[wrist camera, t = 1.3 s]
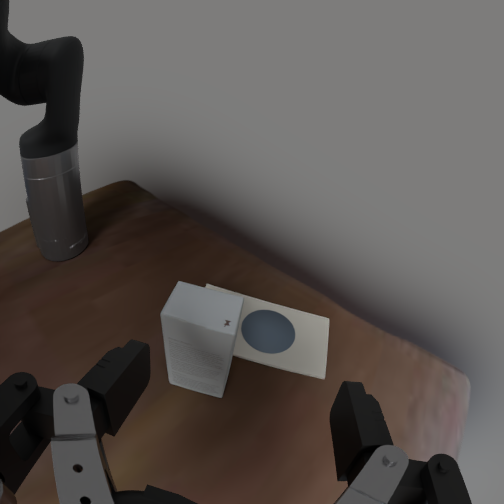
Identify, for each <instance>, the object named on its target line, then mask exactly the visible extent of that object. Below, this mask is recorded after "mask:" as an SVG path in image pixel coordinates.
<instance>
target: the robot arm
mask: <svg viewBox="0 0 504 504" xmlns="http://www.w3.org/2000/svg"><path fill="white" fill-rule="evenodd" d="M8 14H9V0H0V95H2V96H3V97H5V98H6V99H8V100H9V101H11V102H13V103H15V104H18V105H24V106H26V105H34V104H41V103H46V113H45V117H44V119H43V120H42V121H41V122H40V123H39V124H38V125H36V126H34V127H33V128H31V129H29V130H28V131H26V132H25V133H24V134H23V135H22V136H21V137H20V142H19V145H20V154H21V162H22V169H23V175H24V181H25V187H26V192H27V198H26V203H27V207H28V212H29V216H30V220H31V224H32V228H33V232H34V236H35V239H36V243H37V246H38V247H39V248H40V250H41V253H42V255H43V256H44V257H45V258H46V259H48V260H51V261H64V260H67V259H70V258H73V257H75V256H77V255H78V254H80V253H81V252H82V251H83V250H84V249H85V248H86V246H87V244H88V233H87V227H86V221H85V214H84V207H83V199H82V192H81V182H80V171H79V160H78V140H77V130H78V123H79V110H80V107H79V106H80V92H81V83H82V74H83V62H84V55H83V47H82V44H81V42H80V40H79V39H78V38H76V37H73V36H68V37H62V38H56V39H52V40H47V41H43V42H39V43H35V44H26V43H23V42H21V41H19V40H18V39H16V38H15V37H14V36H13V35H12V34H10V33H9V31H8V28H7V27H8ZM149 380H150V347H149V345H148V344H146V343H142V342H139V341H136V340H130V341H129V342H128V343H127V344H126V345H125V346H124V347H123V348H120V347H117V348H115V349H113V350H110V351H108V352H107V353H106V354H105V355H104V356H103V357H102V359H101V360H99V361H98V363H97V364H96V365H95V366H94V367H93V368H92V369H91V370H90V371H89V372H88V373H87V374H86V375H85V376H84V377H83V378H82V379H81V380H80V381H79V382H78V383H77V384H64V385H61V386H60V387H58V388H57V389H56V390H52V389H48V388H44V387H39V386H38V384H37V381H36V379H35V378H34V376H32V375H31V374H29V373H25V372H19V373H15V374H13V375H11V376H10V377H9V378H8V379H6V380H5V381H4V382H3V383H2V384H1V385H0V504H17V500H16V497H15V493H16V491H17V490H18V488H19V487H20V485H21V484H22V482H23V481H24V479H25V478H26V476H27V475H28V473H29V472H30V470H31V469H32V467H33V466H34V464H35V463H36V461H37V460H38V459H39V457H40V456H41V454H42V453H43V451H44V450H45V449H46V447H47V446H48V444H49V443H50V441H51V449H52V459H53V467H54V474H55V480H56V486H57V492H58V497H59V502H60V504H197V503H195V502H193V501H191V500H189V499H187V498H185V497H183V496H181V495H179V494H175V493H172V492H169V491H165V490H162V489H159V488H156V487H153V486H150V485H147V486H146V489H145V491H136V490H128V491H118V492H117V489H116V486H115V484H114V481H113V478H112V475H111V472H110V469H109V465H108V462H107V458H106V454H105V451H104V447H103V443H102V439H101V438H102V437H103V435H104V434H105V433H107V434H110V435H112V436H115V435H116V433H117V432H118V430H119V429H120V427H121V425H122V424H123V422H124V421H125V419H126V418H127V416H128V415H129V413H130V411H131V410H132V408H133V407H134V405H135V404H136V402H137V401H138V399H139V398H140V396H141V395H142V393H143V391H144V390H145V388H146V387H147V385H148V383H149ZM20 420H21V421H22V422H21V423H20V424H19V425H18V426H17V428H16V429H15V430H14V431H13V432H12V434H11V435H10V433H11V431H12V430H13V428H14V427H15V426H16V425H17V424H18V423H19V421H20ZM330 427H331V434H332V441H333V448H334V456H335V464H336V472H337V480H338V481H347V482H348V487H347V488H346V489H345V491H344V492H343V493H342V494H341V496H340V497H339V498H338V499H337V500H336V502H335V503H334V504H472V503H471V500H470V497H469V494H468V491H467V488H466V486H465V483H464V480H463V477H462V475H461V472H460V469H459V467H458V464H457V462H456V461H455V460H454V459H453V458H452V457H451V456H449V455H446V454H436V455H434V456H432V457H431V458H430V460H429V461H428V462H423V461H416V460H411V459H408V456H407V454H406V453H405V452H404V451H403V450H402V449H401V448H399V447H396V446H394V445H393V442H392V439H391V436H390V433H389V430H388V427H387V425H386V422H385V420H384V416H383V413H382V411H381V408H380V405H379V402H378V401H377V400H376V399H375V398H374V397H373V396H372V395H370V394H366V392H365V389H364V386H363V384H362V383H361V382H349V381H344V382H343V383H342V385H341V387H340V389H339V392H338V394H337V396H336V399H335V401H334V403H333V406H332V408H331V412H330Z"/></svg>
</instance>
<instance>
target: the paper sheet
mask: <svg viewBox="0 0 504 504" xmlns="http://www.w3.org/2000/svg"><path fill="white" fill-rule="evenodd" d="M205 288H208V289H212V290H216V291H220V292H224V293H228V294H232V295H236V296H241V297H244V304H243V308H242V313H241V318H240V323H239V328H238V332H237V337H236V342H235V347H234V352H233V356H235V357H239V358H242V359H246V360H249V361H252V362H256V363H260V364H263V365H267V366H271V367H274V368H278V369H282V370H286V371H290V372H294V373H298V374H303V375H307V376H311V377H316V378H320V379H325V373H326V361H327V349H328V334H329V318H325V317H322V316H318V315H314V314H310V313H306V312H303V311H299V310H295V309H292V308H288V307H285V306H281V305H277V304H274V303H270V302H267V301H263V300H260V299H256V298H253V297H249V296H246V295H243V294H239V293H236V292H233V291H229V290H226V289H223V288H219V287H216V286H213V285H210V284H207V285H206V287H205Z"/></svg>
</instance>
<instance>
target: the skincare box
mask: <svg viewBox="0 0 504 504" xmlns="http://www.w3.org/2000/svg"><path fill="white" fill-rule="evenodd" d="M243 304H244V297H241V296H236V295H232V294H228V293H224V292H220V291H216V290H212V289H208V288H204V287H200V286H196V285H192V284H188V283H185V282H181V281H178V283H177V285H176V286H175V288H174V290H173V292H172V293H171V295H170V297H169V299H168V301H167V302H166V304H165V306H164V308H163V310H162V311H161V314H160V315H161V323H162V331H163V339H164V347H165V355H166V363H167V370H168V377H169V382H170V384H174V385H177V386H180V387H183V388H187V389H190V390H193V391H197V392H200V393H204V394H208V395H211V396H215V397H219V398H222V396H223V393H224V389H225V386H226V382H227V378H228V374H229V370H230V366H231V361H232V357H233V352H234V347H235V342H236V337H237V332H238V328H239V323H240V318H241V313H242V308H243Z"/></svg>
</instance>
